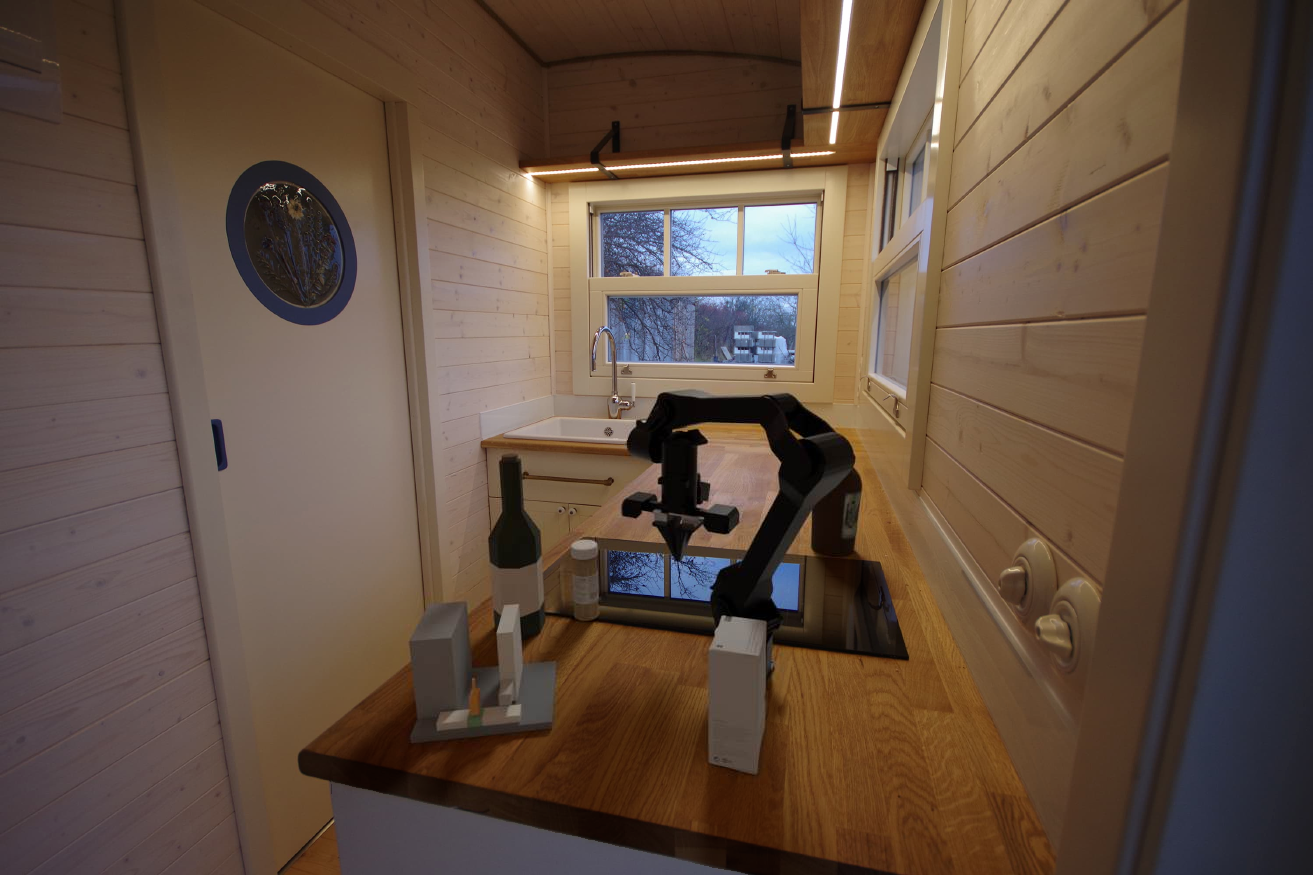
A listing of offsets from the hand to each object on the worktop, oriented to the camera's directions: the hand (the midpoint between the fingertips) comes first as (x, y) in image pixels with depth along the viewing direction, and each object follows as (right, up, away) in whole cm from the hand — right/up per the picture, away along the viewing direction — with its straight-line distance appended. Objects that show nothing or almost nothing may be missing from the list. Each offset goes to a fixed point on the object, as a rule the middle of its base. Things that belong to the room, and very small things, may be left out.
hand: (678, 560), depth 87 cm
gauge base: (-26, -16, -15) cm, 34 cm away
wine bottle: (-27, -12, +3) cm, 29 cm away
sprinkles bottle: (-16, -11, +6) cm, 21 cm away
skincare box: (+6, -17, -23) cm, 29 cm away
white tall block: (-23, -14, -15) cm, 31 cm away
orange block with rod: (-26, -14, -20) cm, 36 cm away
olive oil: (+37, -5, +34) cm, 50 cm away
